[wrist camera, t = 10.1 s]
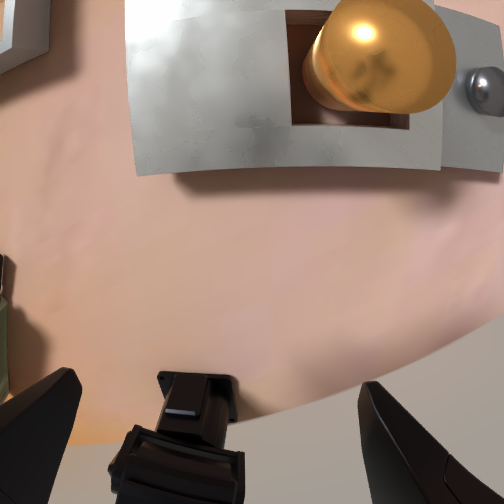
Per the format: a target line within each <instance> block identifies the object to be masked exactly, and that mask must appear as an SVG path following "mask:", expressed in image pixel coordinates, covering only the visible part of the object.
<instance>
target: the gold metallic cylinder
mask: <svg viewBox="0 0 504 504" xmlns="http://www.w3.org/2000/svg"><path fill="white" fill-rule="evenodd" d="M455 74H456V53H455V48H454V44H453V41H452V38H451V35H450V33H449V31H448V29H447V27H446V26H445V24H444V23H443V21H442V20H441V18H440V17H439V16H438V15H437V13H436V12H435V11H434V10H433V9H432V8H431V7H430V6H429V5H427V4H426V3H425V2H424V1H422V0H341V1H340V2H339V3H338V4H337V6H336V7H335V8H334V10H333V12H332V13H331V15H330V16H329V18H328V20H327V21H326V23H325V25H324V26H323V28H322V30H321V31H320V33H319V35H318V36H317V38H316V40H315V41H314V43H313V45H312V46H311V48H310V50H309V51H308V53H307V55H306V57H305V59H304V62H303V66H302V77H303V81H304V84H305V87H306V89H307V90H308V92H309V93H310V95H311V96H312V97H313V98H314V99H315V100H316V101H317V102H318V103H320V104H321V105H323V106H325V107H327V108H330V109H333V110H337V111H362V112H384V113H399V114H412V113H419V112H422V111H425V110H428V109H430V108H432V107H433V106H435V105H437V104H438V103H439V102H440V101H441V100H442V99H443V98H444V97H445V96H446V95H447V93H448V92H449V90H450V88H451V86H452V84H453V81H454V78H455Z"/></svg>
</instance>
